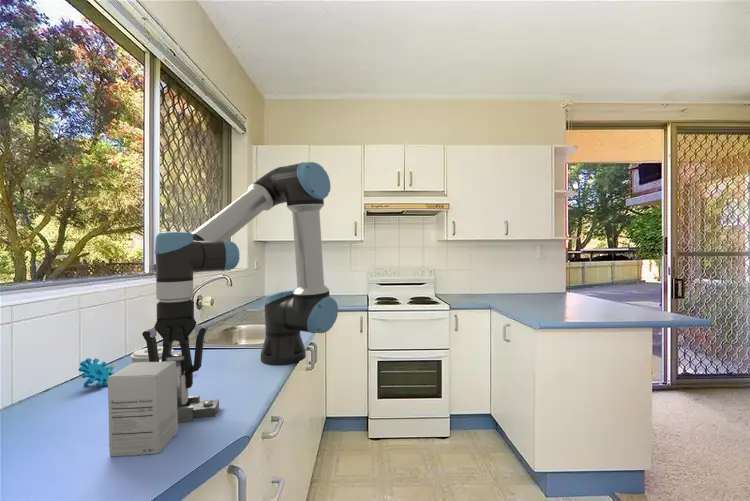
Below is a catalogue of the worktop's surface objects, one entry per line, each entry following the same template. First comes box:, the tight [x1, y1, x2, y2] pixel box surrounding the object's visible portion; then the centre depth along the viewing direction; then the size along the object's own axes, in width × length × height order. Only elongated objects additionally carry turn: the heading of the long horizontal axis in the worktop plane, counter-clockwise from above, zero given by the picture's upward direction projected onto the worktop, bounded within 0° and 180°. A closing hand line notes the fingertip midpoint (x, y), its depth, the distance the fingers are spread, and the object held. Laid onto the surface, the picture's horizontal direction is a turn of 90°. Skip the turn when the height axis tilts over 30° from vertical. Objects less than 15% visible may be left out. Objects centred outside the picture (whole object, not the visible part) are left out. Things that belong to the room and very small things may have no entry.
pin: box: [165, 351, 185, 407], centre depth 88 cm, size 5×5×13 cm
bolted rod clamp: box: [177, 394, 220, 424], centre depth 88 cm, size 17×7×3 cm, turn 103°
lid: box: [130, 345, 175, 364], centre depth 130 cm, size 13×13×5 cm
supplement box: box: [107, 361, 179, 457], centre depth 76 cm, size 9×9×15 cm
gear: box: [77, 357, 115, 388], centre depth 110 cm, size 11×6×10 cm
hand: (177, 402), depth 88 cm, fingers closed on pin, 3 cm apart
